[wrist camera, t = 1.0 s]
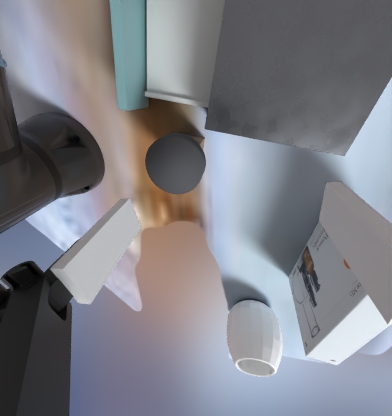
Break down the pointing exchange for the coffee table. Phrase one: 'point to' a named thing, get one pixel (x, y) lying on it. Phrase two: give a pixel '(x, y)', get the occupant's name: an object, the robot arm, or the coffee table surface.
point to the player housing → (300, 70)
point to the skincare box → (331, 302)
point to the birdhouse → (165, 50)
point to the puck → (175, 163)
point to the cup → (254, 338)
